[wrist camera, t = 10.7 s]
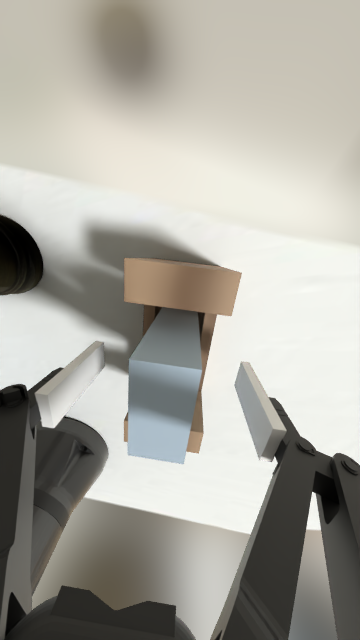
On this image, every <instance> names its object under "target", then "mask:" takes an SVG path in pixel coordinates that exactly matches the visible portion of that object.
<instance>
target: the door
mask: <svg viewBox="0 0 360 640" xmlns="http://www.w3.org/2000/svg"><path fill="white" fill-rule="evenodd" d="M201 374H202V361H201V348H200V335H199V321H198V312H197V311H189V310H182V309H175V308H167V307H162V309H161V310H160V312H159V313H158V315H157V316H156V318H155V320H154V321H153V323H152V324H151V326H150V327H149V329H148V330H147V332H146V334H145V335H144V337H143V338H142V340H141V341H140V343H139V344H138V346H137V348H136V349H135V351H134V352H133V354H132V355H131V357H130V358H129V392H128V455H131V456H137V457H143V458H149V459H155V460H161V461H167V462H173V463H179V464H184V459H185V454H186V449H187V444H188V439H189V434H190V429H191V424H192V419H193V414H194V409H195V404H196V399H197V394H198V389H199V384H200V379H201Z"/></svg>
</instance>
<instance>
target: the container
mask: <svg viewBox="0 0 360 640" xmlns="http://www.w3.org/2000/svg"><path fill="white" fill-rule="evenodd" d="M42 272H43V261H42V256H41V253H40V250H39V248H38V246H37V244H36V242H35V240H34V239H33V238H32V236H31V235H30V234H29V233H28V232H27V231H26V230H25V229H24V228H23V227H22V226H20V225H19V224H18V223H16V222H14V221H12V220H10V219H8V218H6V217H3V216H0V295H8V294H19V293H24V292H26V291H29V290H30V289H32V288H34V287H35V286H36V285H37V284H38V282H39V281H40V279H41V277H42Z"/></svg>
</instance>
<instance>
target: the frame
mask: <svg viewBox="0 0 360 640" xmlns="http://www.w3.org/2000/svg"><path fill="white" fill-rule="evenodd" d="M241 274H242V273H240V272H237V271H233V270H230V269H227V268H224V267H219V266H212V265H204V264H196V263H188V262H180V261H172V260H164V259H156V258H124V302H130V303H138V304H144V319H143V337H144V335H145V334H146V332H147V330H148V329H149V327H150V326H151V324H152V323H153V321H154V320H155V318H156V316H157V315H158V313H159V312H160V310H161V309H162V307H167V308H175V309H182V310H189V311H197V312H198V321H199V335H200V348H201V361H202V374H201V379H200V384H199V389H198V394H197V399H196V404H195V409H194V414H193V419H192V424H191V429H190V434H189V439H188V444H187V449H186V451H187V452H193V453H199V450H200V446H201V441H202V437H203V415H202V398H201V389H202V384H203V379H204V375H205V370H206V365H207V360H208V355H209V350H210V345H211V341H212V336H213V331H214V326H215V321H216V316H217V314H219V315H226V316H232V312H233V307H234V303H235V299H236V295H237V291H238V287H239V282H240V278H241ZM124 441H125V442H128V413H127V415H126V417H125V420H124Z"/></svg>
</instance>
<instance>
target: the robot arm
mask: <svg viewBox="0 0 360 640" xmlns="http://www.w3.org/2000/svg"><path fill="white" fill-rule="evenodd" d="M104 367H105V360H104V342H98V341H95V342H94V343H93V344H92V345H91V346H90V347H88V348H87V349H86V350H85V351H84V352H82V353H81V354H80V355H79V356H78V357H77V358H75V359H74V360H73V361H72V362H71V363H70V364H68V365H67V366H66V367H65V368H58V369H56V370H54V371H52V372H51V373H50V374H48V375H47V377H45V378H43V379H42V381H40V382H38V383H37V384H36V385H35V386H33V387H32V388H31V389H30V390H28V391H27V389H26V386H25V385H23V384H16V385H11V386H8V387H6V388H4V389H2V390H0V640H196V639H195V637H194V636H193V634H192V633H191V631H190V630H189V628H188V627H187V626H186V625H185V624H184V623H183V621H182V620H180V619H179V618H178V617H177V616H176V615H175V614H176V606H174V605H168V604H162V603H157V602H151V601H146V602H142V603H139V604H136V605H133V606H130V607H127V608H124V609H121V610H113V609H112V608H110V607H109V606H108V605H107V604H105V603H104V602H103V601H102V600H101V599H99V598H98V597H97V596H96V595H94V594H93V593H92V592H91V591H89V590H84V589H79V588H72V587H67V586H61V589H60V591H59V594H58V596H56V597H53V598H51V599H49V600H47V601H45V602H43V603H42V604H40V605H39V606H37V607H36V608H34V609H33V610H32V596H33V593H34V591H35V589H36V587H37V585H38V583H39V581H40V578H41V577H42V574H43V572H44V570H45V568H46V566H47V564H48V562H49V559H50V557H51V555H52V553H53V551H54V549H55V547H56V545H57V542H58V540H59V538H60V536H61V534H62V532H63V529H64V527H65V526H66V523H67V521H68V519H69V517H70V515H71V513H72V512H73V510H74V509H75V507H76V506H77V505H78V503H79V502H80V501H81V499H82V498H83V497H84V495H85V494H86V493H87V491H88V490H89V489H90V488H91V486H92V485H93V484H94V482H95V481H96V480H97V478H98V477H99V476H100V474H101V472H102V470H103V468H104V466H105V463H106V461H107V459H108V448H107V446H106V443H105V442H104V440H103V439H102V438H101V436H100V435H99V434H98V433H97V432H95V431H94V430H93V429H91V428H90V427H88V426H87V425H85V424H83V423H80V422H78V421H75V420H72V419H67V418H63V417H64V416H65V414H66V413H67V412H68V411H69V410H70V408H71V407H72V406H73V405H74V403H75V402H76V401H77V400H78V399H79V397H80V396H81V395H82V394H83V392H84V391H85V390H86V389H87V388H88V386H89V385H90V384H91V383H92V381H93V380H94V379H95V378H96V377H97V375H98V374H99V373H100V372H101V370H102V369H103V368H104ZM235 388H236V391H237V394H238V397H239V400H240V403H241V406H242V409H243V412H244V415H245V418H246V421H247V424H248V427H249V430H250V433H251V436H252V439H253V442H254V445H255V448H256V451H257V454H258V457H259V460H262V461H268V462H272V461H273V459H274V456H275V457H276V459H277V462H278V464H277V466H276V468H275V470H274V472H273V477H272V479H271V482H270V485H269V487H268V490H267V493H266V495H265V498H264V501H263V503H262V506H261V509H260V511H259V514H258V517H257V519H256V522H255V525H254V527H253V530H252V533H251V535H250V538H249V541H248V543H247V546H246V549H245V551H244V554H243V557H242V560H241V562H240V565H239V568H238V570H237V573H236V576H235V578H234V581H233V584H232V586H231V589H230V592H229V594H228V597H227V600H226V602H225V605H224V607H223V610H222V612H221V615H220V617H219V619H218V622H217V624H216V626H215V629H214V631H213V634H212V637H211V639H210V640H288V636H289V630H290V624H291V618H292V611H293V605H294V599H295V594H296V587H297V581H298V575H299V569H300V563H301V556H302V551H303V544H304V538H305V532H306V526H307V520H308V514H309V507H310V501H311V495H312V492H314V493H316V498H317V505H318V511H319V518H320V525H321V531H322V538H323V545H324V551H325V558H326V565H327V571H328V578H329V585H330V592H331V598H332V605H333V611H334V618H335V625H336V631H337V638H338V640H360V465H359V464H358V463H357V462H355V461H354V460H353V459H351V458H350V457H348V456H346V455H344V454H341V453H336V454H335V455H334V456H333V458H332V457H330V456H328V455H325V454H323V453H321V452H318V451H316V449H315V448H314V446H313V445H312V444H311V443H310V442H309V441H307V440H306V439H304V438H302V437H300V435H299V433H298V432H297V430H296V428H295V427H294V425H293V423H292V422H291V420H290V418H289V417H288V415H287V414H286V412H285V410H284V409H283V407H282V405H281V404H280V403H279V402H278V401H277V400H276V399H275V398H270V397H268V396H267V394H266V392H265V390H264V388H263V387H262V385H261V383H260V381H259V379H258V377H257V376H256V374H255V372H254V370H253V368H252V367H251V365H250V363H248V362H241V364H240V367H239V371H238V374H237V378H236V381H235ZM40 420H41V421H40Z"/></svg>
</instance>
